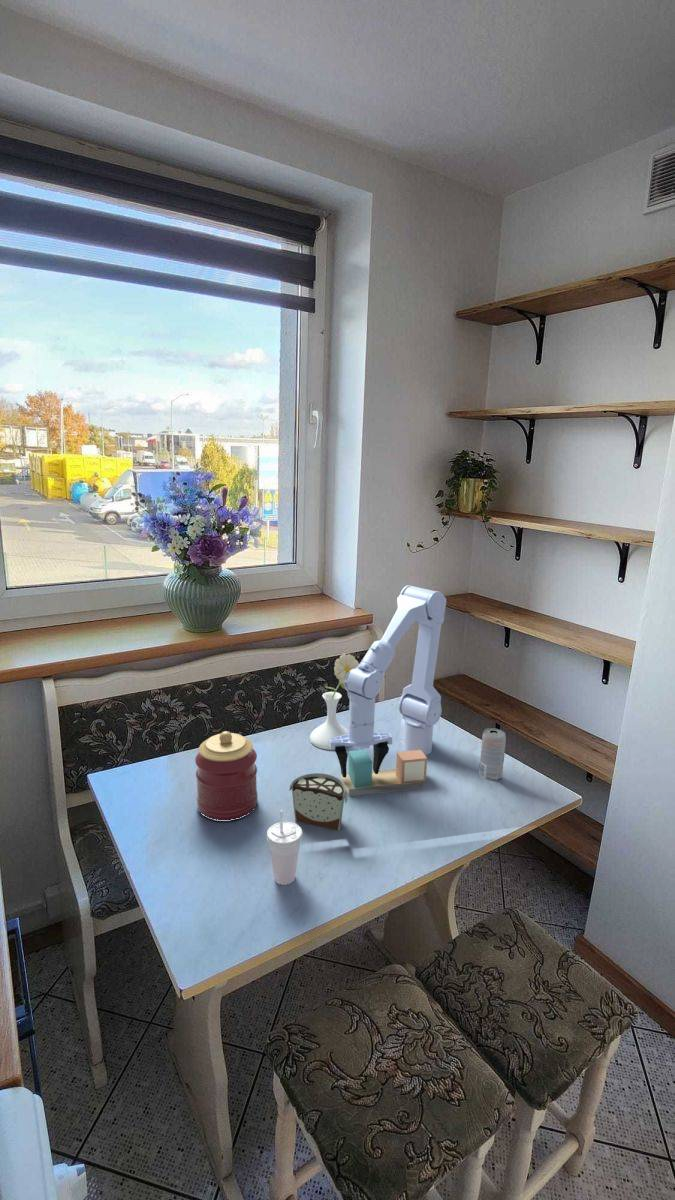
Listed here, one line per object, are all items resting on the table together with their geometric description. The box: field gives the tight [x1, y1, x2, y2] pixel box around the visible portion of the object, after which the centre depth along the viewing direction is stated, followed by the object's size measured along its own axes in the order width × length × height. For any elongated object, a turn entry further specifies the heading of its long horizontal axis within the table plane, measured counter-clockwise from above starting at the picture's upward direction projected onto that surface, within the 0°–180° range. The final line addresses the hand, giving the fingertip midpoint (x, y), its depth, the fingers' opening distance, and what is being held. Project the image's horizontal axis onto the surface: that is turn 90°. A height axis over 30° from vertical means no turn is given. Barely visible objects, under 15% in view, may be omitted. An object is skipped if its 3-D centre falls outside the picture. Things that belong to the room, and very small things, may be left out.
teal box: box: [347, 749, 373, 788], centre depth 140 cm, size 4×6×6 cm
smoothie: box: [266, 809, 303, 886], centre depth 109 cm, size 6×6×14 cm
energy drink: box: [478, 727, 507, 783], centre depth 143 cm, size 5×5×12 cm
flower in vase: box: [309, 653, 360, 751], centre depth 157 cm, size 13×11×25 cm
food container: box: [289, 772, 349, 832], centre depth 126 cm, size 12×6×10 cm, turn 71°
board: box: [340, 768, 423, 797], centre depth 141 cm, size 9×17×3 cm, turn 103°
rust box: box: [395, 750, 428, 784], centre depth 141 cm, size 4×6×6 cm
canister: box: [194, 730, 258, 820], centre depth 130 cm, size 13×13×18 cm
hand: (359, 773), depth 141 cm, fingers open, 7 cm apart
